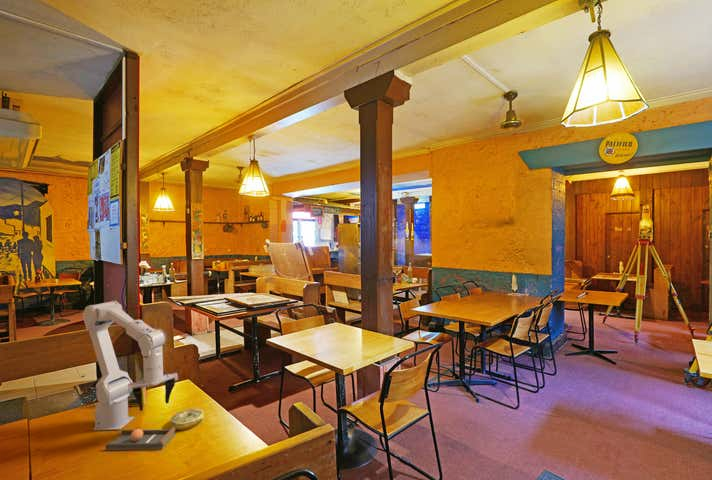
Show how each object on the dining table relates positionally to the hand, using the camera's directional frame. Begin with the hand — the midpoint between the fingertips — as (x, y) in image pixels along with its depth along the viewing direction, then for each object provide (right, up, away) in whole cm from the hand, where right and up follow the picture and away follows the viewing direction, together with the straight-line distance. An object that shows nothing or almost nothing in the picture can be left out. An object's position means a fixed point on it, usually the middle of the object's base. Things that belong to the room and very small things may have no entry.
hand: (154, 405), depth 118 cm
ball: (-3, -7, -5) cm, 9 cm away
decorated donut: (+8, -10, +6) cm, 14 cm away
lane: (-1, -10, -5) cm, 11 cm away
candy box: (-23, -10, +20) cm, 32 cm away
